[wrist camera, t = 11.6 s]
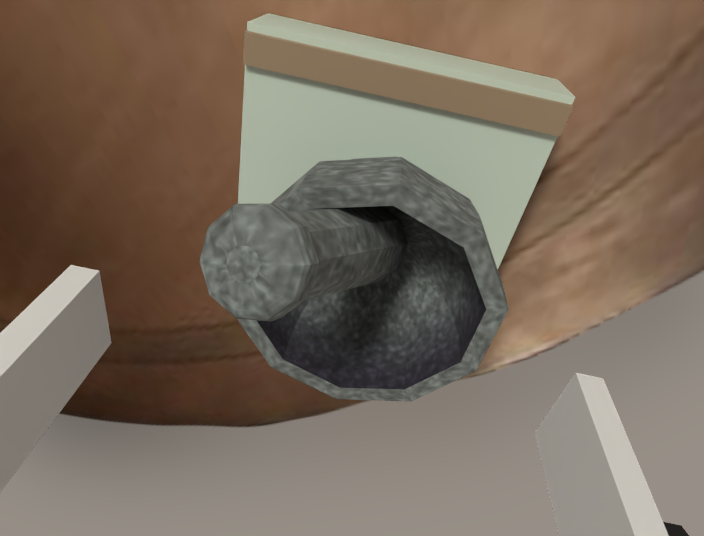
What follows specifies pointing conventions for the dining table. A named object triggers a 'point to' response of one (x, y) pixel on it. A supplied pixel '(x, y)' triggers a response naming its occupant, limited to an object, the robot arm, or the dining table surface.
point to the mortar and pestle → (360, 279)
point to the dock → (394, 116)
